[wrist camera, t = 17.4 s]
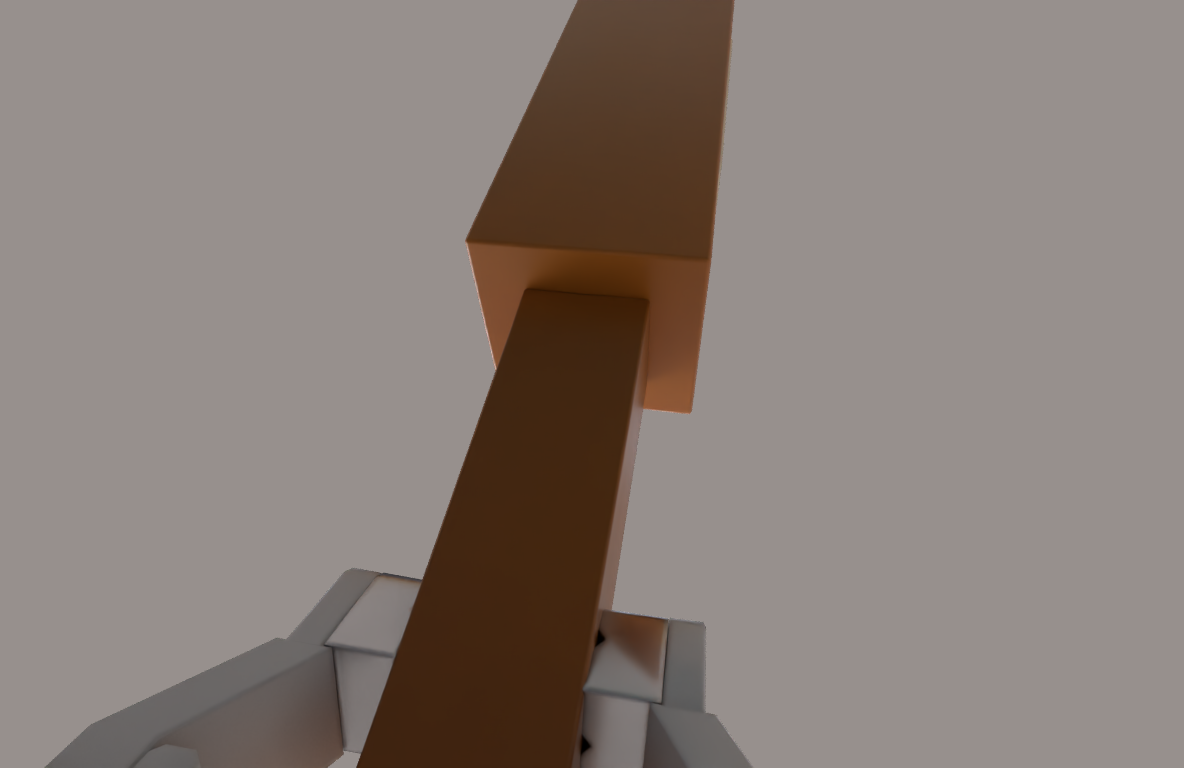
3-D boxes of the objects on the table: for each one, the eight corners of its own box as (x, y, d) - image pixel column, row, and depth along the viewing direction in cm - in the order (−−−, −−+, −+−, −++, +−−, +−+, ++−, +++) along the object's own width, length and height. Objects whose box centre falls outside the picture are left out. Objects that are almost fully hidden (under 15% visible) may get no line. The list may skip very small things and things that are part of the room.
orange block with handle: (737, -12, 19) (720, 132, 22) (582, -16, 19) (588, 126, 23) (648, 1040, 5) (638, 994, 8) (138, 914, 6) (319, 917, 9)
